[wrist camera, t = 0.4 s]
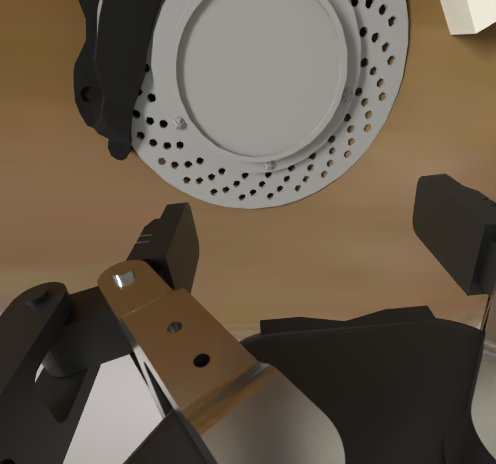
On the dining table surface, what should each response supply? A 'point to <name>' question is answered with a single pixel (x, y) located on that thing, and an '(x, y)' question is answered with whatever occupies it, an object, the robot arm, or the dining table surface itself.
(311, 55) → the brake disc
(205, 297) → the dining table surface
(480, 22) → the cream rectangular bar
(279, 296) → the dining table surface
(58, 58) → the dining table surface
